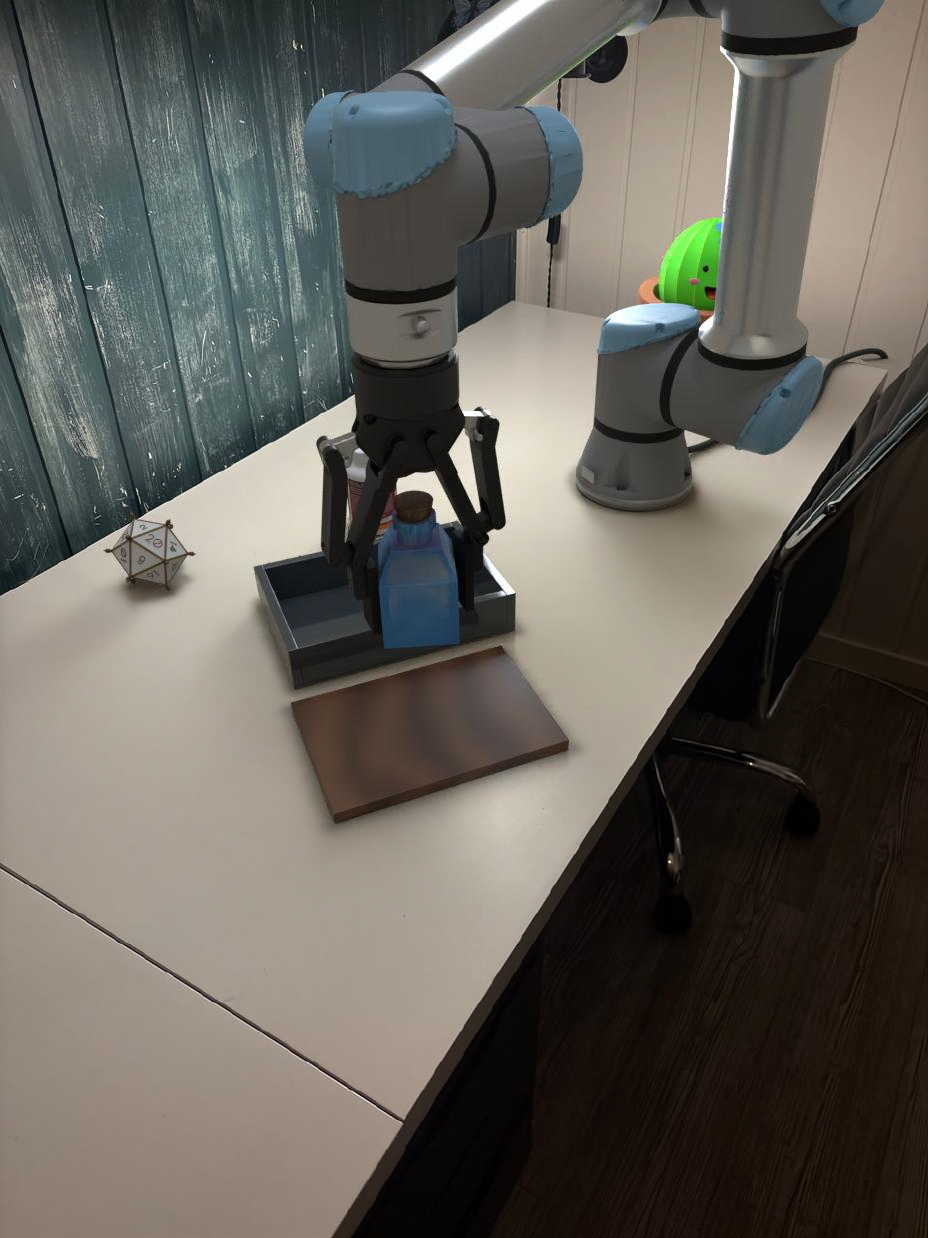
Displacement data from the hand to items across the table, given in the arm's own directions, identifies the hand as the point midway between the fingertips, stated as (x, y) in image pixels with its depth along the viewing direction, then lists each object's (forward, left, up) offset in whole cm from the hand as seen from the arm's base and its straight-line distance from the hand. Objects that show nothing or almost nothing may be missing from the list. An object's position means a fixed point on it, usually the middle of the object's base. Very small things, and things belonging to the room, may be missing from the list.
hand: (419, 613), depth 77 cm
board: (0, 0, -14) cm, 14 cm away
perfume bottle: (0, 0, -1) cm, 1 cm away
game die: (+20, -36, -14) cm, 43 cm away
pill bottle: (-7, -38, -14) cm, 41 cm away
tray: (-2, -19, -14) cm, 23 cm away
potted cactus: (-71, -62, -14) cm, 95 cm away
